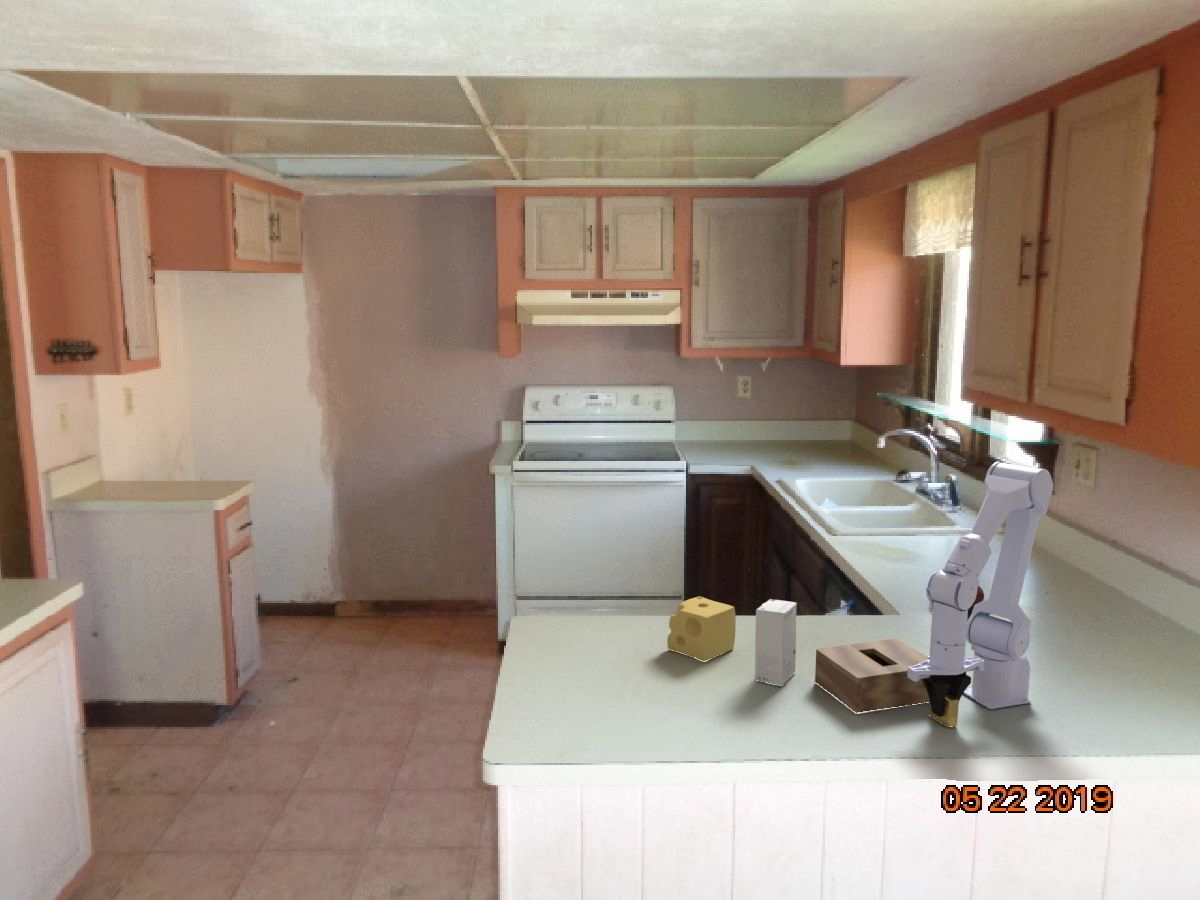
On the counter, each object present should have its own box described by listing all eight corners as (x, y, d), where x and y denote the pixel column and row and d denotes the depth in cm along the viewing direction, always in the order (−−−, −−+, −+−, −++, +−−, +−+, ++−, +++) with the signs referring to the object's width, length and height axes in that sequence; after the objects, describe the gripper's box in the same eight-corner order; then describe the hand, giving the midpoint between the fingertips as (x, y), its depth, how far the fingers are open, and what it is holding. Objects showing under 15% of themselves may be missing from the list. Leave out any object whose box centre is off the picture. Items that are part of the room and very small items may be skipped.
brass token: (938, 714, 162) (939, 687, 162) (956, 726, 158) (958, 699, 157) (928, 715, 162) (930, 689, 161) (947, 728, 157) (949, 701, 156)
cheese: (666, 650, 192) (667, 605, 190) (699, 637, 199) (699, 594, 198) (705, 664, 185) (706, 618, 183) (737, 650, 192) (738, 605, 190)
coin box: (894, 671, 181) (896, 638, 180) (940, 701, 168) (942, 665, 167) (814, 683, 176) (816, 649, 174) (856, 714, 162) (857, 678, 161)
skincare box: (782, 688, 173) (785, 614, 171) (752, 681, 176) (754, 609, 174) (796, 672, 181) (798, 601, 178) (767, 666, 183) (769, 596, 181)
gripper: (966, 627, 163) (962, 697, 165) (898, 636, 159) (894, 709, 161) (994, 641, 156) (989, 714, 159) (924, 651, 152) (919, 726, 154)
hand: (943, 713), depth 159 cm, fingers closed on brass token, 2 cm apart
